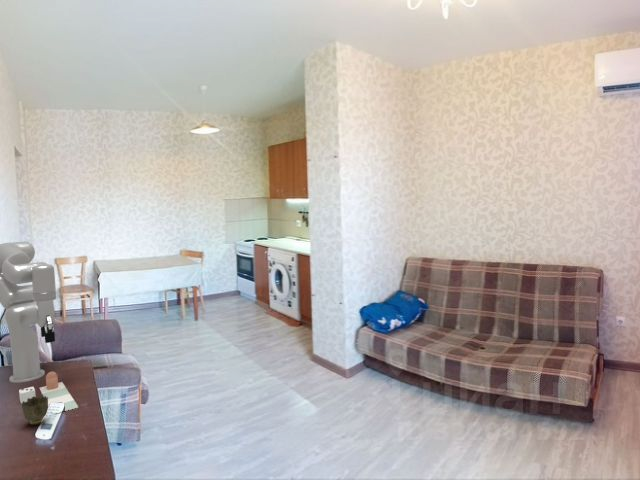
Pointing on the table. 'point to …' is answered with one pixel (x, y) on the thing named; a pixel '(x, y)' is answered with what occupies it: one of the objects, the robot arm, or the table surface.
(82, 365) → the table surface
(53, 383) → the pawn
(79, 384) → the table surface
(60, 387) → the board
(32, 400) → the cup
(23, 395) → the die
